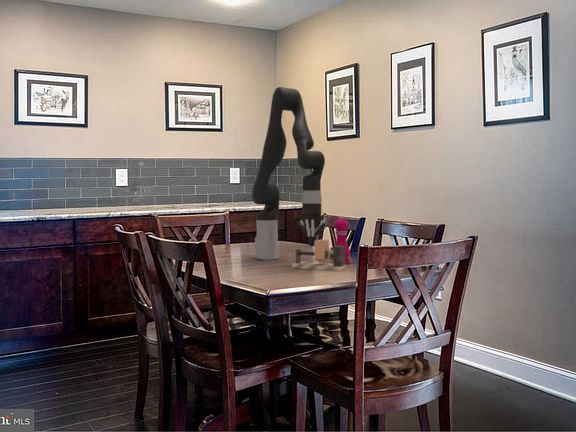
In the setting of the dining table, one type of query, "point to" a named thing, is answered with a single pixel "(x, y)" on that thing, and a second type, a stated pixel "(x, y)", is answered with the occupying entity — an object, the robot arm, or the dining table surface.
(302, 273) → the dining table surface
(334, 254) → the cord stand
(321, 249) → the marker sleeve
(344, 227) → the pepper mill
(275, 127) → the robot arm
